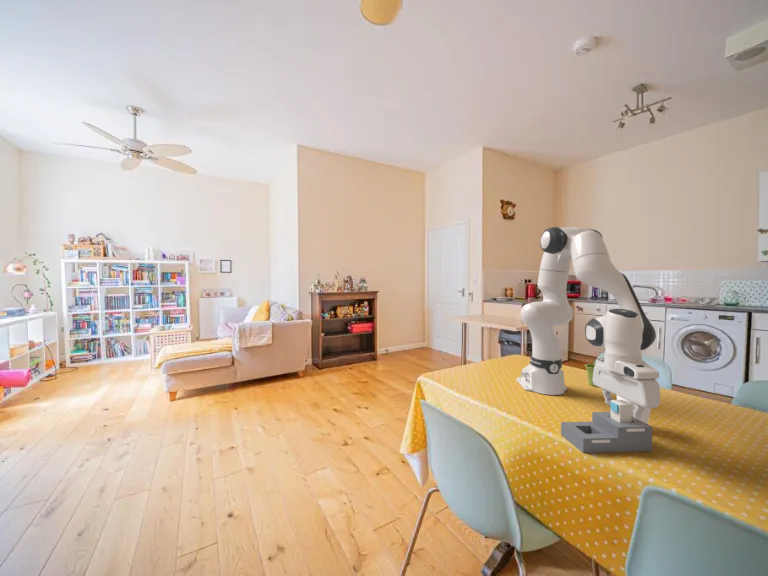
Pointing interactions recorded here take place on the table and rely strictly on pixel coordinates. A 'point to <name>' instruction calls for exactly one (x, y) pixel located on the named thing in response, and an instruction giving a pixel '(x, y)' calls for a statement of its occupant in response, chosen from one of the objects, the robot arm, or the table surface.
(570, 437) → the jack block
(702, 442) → the table surface
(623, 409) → the plug
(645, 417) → the cup
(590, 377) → the plant pot
